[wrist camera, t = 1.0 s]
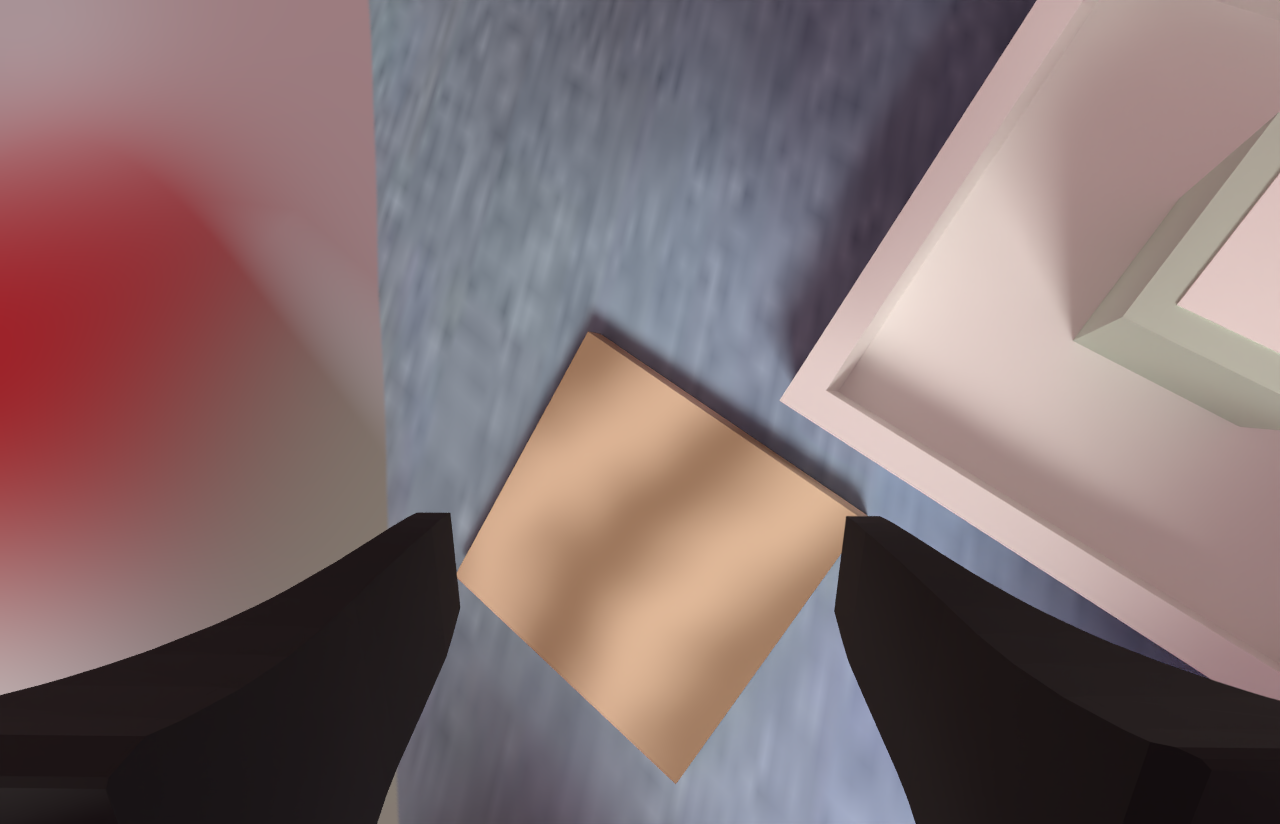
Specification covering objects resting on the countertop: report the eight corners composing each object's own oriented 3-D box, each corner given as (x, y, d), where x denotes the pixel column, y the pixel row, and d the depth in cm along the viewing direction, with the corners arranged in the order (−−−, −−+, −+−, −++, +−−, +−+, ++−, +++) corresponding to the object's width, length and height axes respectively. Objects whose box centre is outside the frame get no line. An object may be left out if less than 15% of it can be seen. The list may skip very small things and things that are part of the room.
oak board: (867, 515, 22) (864, 520, 21) (685, 770, 25) (675, 784, 24) (600, 333, 26) (588, 331, 25) (470, 570, 29) (455, 576, 28)
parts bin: (1880, 166, 14) (2110, 108, 11) (1311, 727, 18) (1378, 787, 15) (1102, -66, 19) (1128, -143, 16) (799, 400, 23) (779, 400, 20)
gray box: (1366, 276, 17) (1574, 215, 11) (1239, 427, 18) (1371, 438, 12) (1179, 198, 18) (1280, 110, 13) (1072, 340, 19) (1123, 316, 14)
